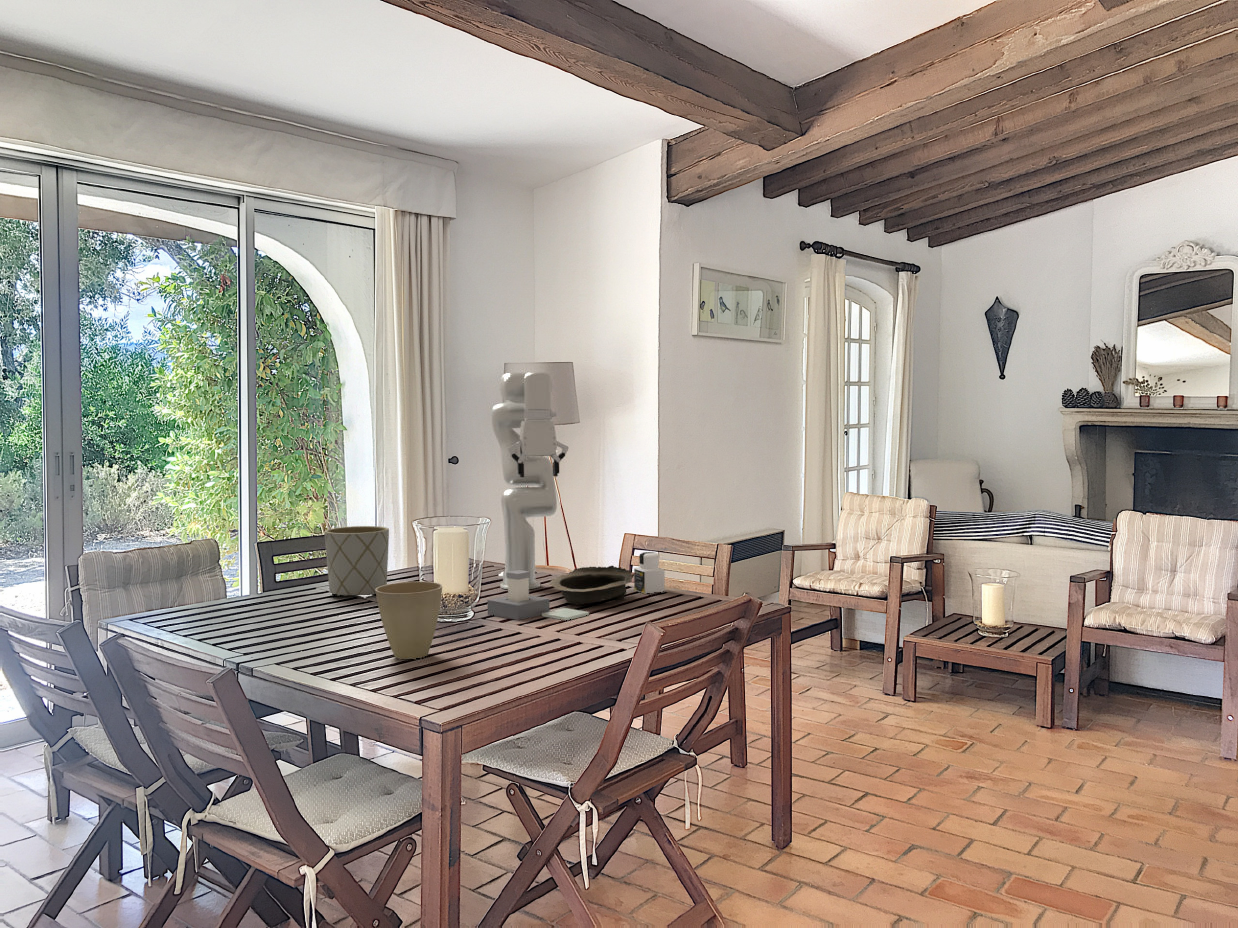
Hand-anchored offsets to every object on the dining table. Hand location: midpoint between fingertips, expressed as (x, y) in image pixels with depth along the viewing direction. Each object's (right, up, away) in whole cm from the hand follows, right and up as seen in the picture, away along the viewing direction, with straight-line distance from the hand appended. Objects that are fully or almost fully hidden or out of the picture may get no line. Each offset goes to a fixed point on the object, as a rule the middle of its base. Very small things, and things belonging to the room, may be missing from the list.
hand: (538, 476), depth 274 cm
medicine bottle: (+32, -36, +24) cm, 54 cm away
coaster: (+8, -38, -10) cm, 40 cm away
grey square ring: (-5, -38, -7) cm, 39 cm away
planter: (-57, -37, +24) cm, 72 cm away
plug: (-5, -38, -7) cm, 39 cm away
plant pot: (-25, -41, -53) cm, 71 cm away
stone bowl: (+15, -37, +9) cm, 41 cm away
